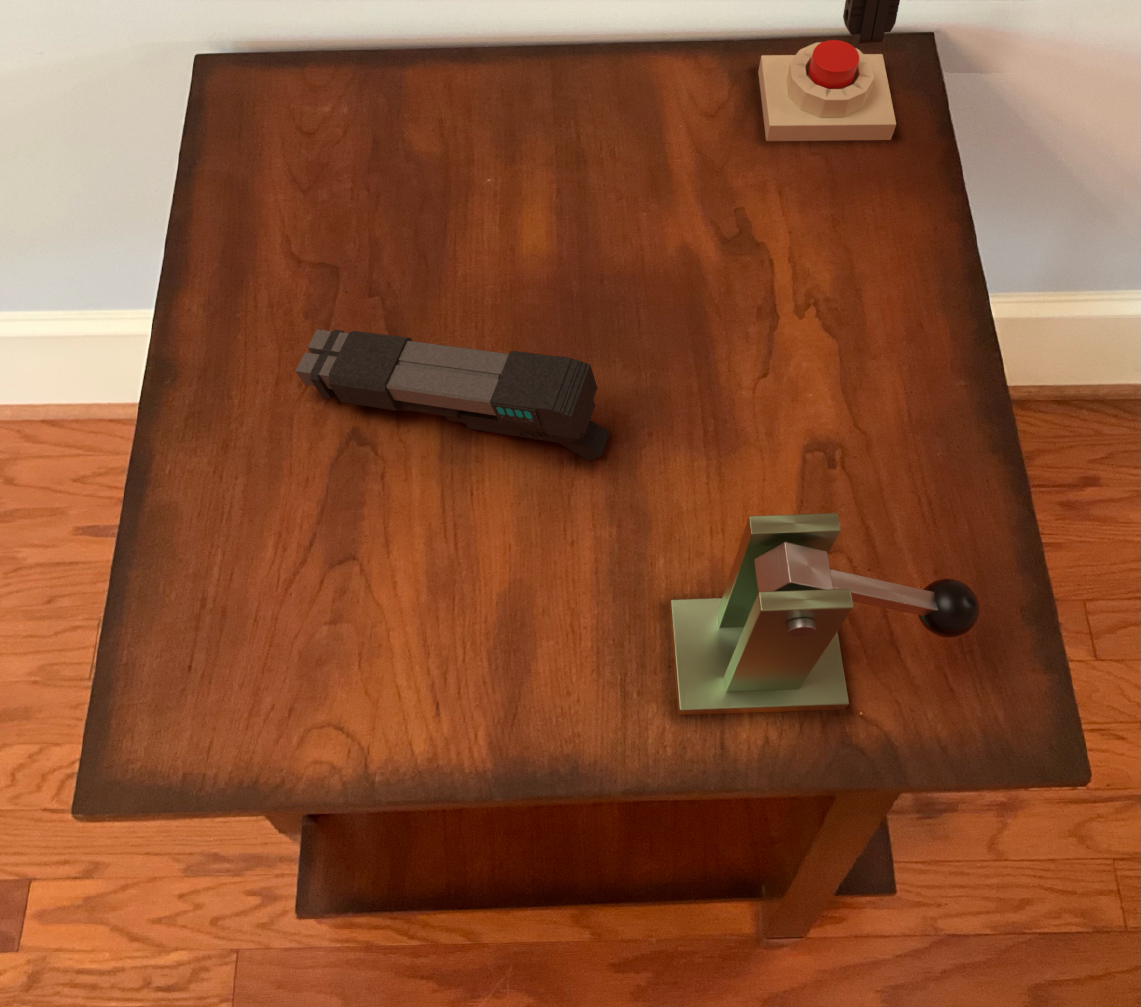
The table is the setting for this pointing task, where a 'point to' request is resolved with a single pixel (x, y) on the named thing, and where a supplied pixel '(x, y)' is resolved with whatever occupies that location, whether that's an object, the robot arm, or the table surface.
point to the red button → (833, 64)
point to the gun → (460, 385)
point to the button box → (824, 101)
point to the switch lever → (869, 588)
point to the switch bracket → (763, 633)
